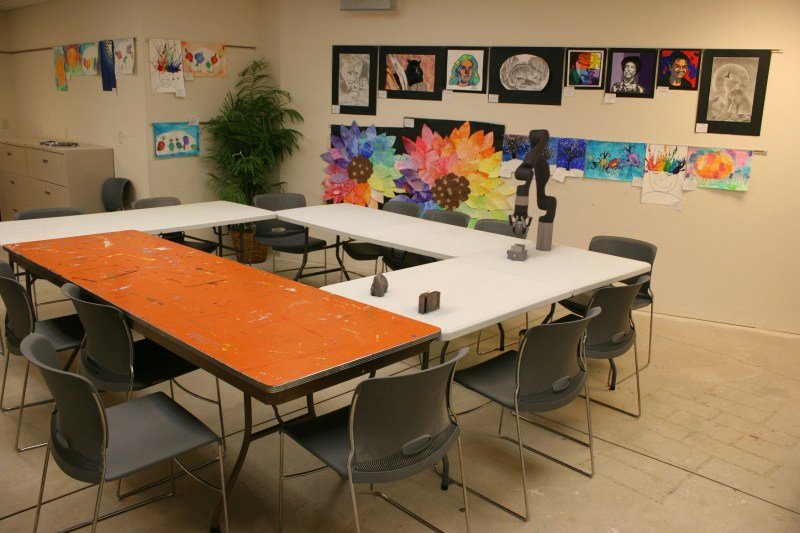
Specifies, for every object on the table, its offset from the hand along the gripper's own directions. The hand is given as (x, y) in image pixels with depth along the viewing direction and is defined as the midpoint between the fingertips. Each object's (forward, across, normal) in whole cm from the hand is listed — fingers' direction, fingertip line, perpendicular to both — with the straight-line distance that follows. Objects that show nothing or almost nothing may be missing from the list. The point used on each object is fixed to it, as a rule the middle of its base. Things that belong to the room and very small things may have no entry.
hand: (519, 233), depth 382 cm
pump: (+1, 0, 0) cm, 1 cm away
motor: (+15, +1, +1) cm, 15 cm away
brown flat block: (+16, +5, +123) cm, 124 cm away
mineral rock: (+16, +34, +109) cm, 115 cm away
